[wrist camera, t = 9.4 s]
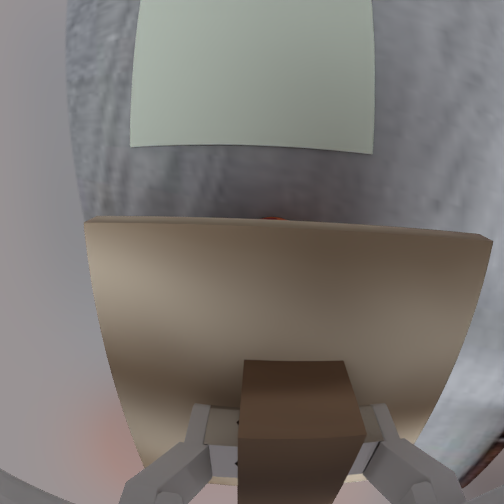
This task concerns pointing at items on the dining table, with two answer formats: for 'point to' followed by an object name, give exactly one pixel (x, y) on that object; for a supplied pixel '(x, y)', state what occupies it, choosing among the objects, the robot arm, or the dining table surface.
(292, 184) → the dining table surface
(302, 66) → the mat
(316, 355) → the lid
